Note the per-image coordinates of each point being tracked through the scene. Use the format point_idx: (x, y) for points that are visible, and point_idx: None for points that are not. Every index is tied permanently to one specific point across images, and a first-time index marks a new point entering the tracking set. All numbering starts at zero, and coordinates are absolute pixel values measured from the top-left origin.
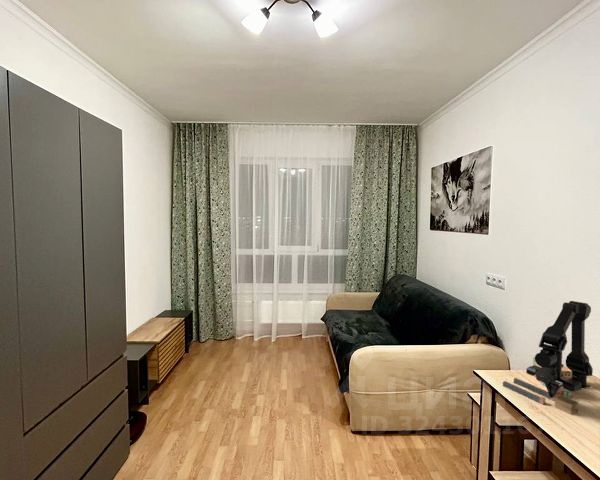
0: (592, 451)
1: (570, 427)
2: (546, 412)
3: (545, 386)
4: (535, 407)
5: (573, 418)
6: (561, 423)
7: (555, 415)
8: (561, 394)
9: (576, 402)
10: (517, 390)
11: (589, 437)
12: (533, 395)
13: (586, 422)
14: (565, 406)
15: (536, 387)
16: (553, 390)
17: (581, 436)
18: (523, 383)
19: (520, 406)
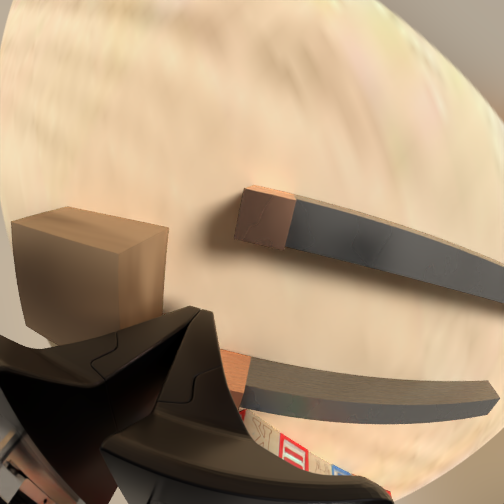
0: (14, 2)
1: (48, 47)
2: (179, 64)
3: (328, 466)
4: (282, 69)
5: (47, 165)
6: (80, 33)
7: (119, 85)
8: None
9: (25, 312)
10: (492, 261)
11: (5, 61)
12: (374, 226)
13: (14, 186)
14: (62, 221)
15: (377, 416)
16: (104, 341)
17: (22, 35)
18: (457, 399)
19: (370, 5)
